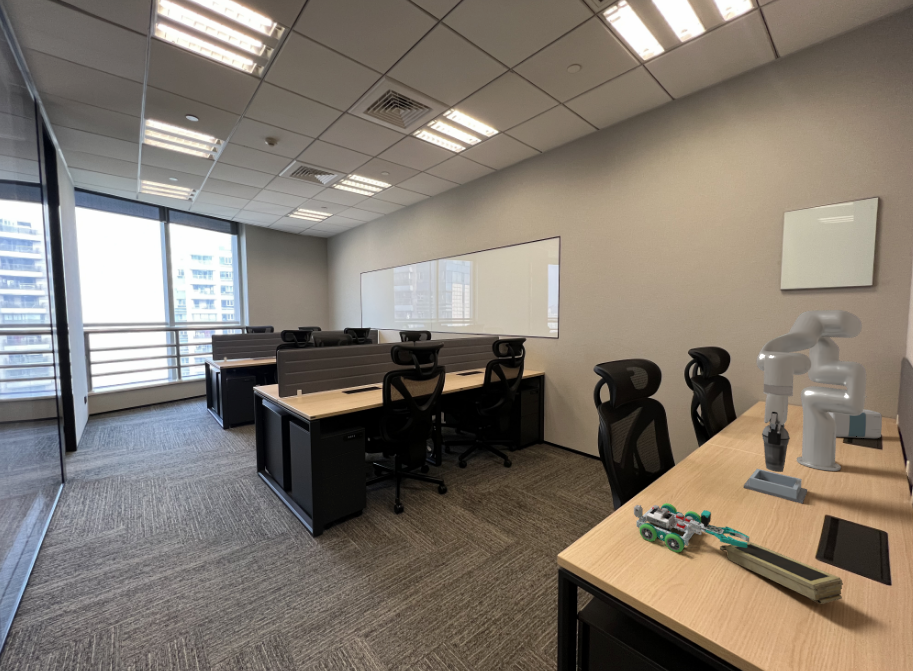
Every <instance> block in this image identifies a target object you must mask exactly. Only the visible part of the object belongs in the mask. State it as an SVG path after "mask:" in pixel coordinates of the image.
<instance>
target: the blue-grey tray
mask: <svg viewBox="0 0 913 671" xmlns="http://www.w3.org/2000/svg"><path fill="white" fill-rule="evenodd" d="M743 488H744V489H747V490H751V491H754V492H757V493H762V494H765V495H769V496H772V497H776V498H779V499H783V500H787V501H791V502H795V503H799V504H802V505H803V504H804V501H805V499H806V496H807V494H808V489H807V488H804V487H802V478H799V477H795V476H791V475H790V476H789V475H786V474H781V473H779V472H774V471H770V470H769V471H768V470H765V469H760V468H756V469H755V471H754V472H753V473H752V474H751V475H750V477H748V479H747V481H746V482H745V483H744V484H743Z"/></svg>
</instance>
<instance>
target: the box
mask: <svg viewBox="0 0 913 671" xmlns="http://www.w3.org/2000/svg"><path fill="white" fill-rule="evenodd" d="M745 542H746V543H747V548H744V547H738V546H734V545H731V544H723V545H720V546H719V550H720V551H725V552H726V553H727V560H729V561H730V562H733V563H736V564H737V565H739V566H741V567H743V568H745V569H748V570H750V571H752V572H754V573H756V574H758V575H761V576H763V577H765V578H766V579H770V581H773V582H775V583H778V584H780V585H782V586H783V587H786V588H787V589H790V590H792V591H794V592H796V593H798V594H800V595H803V596H805V597H807V598H808V599H810V600H811V601H813V602H815V603H817V604H819V605H824V604H827V603H831V602H834V601H838V600H842V599H843V596H842V589H843V585H844V583H843V580H842V579H841V577H839V576H837V575H834V574H831V573H829V572H827V571H823V570H821V569H818V568H817V567H814V566H812V565H809V564H807V563H804V562H802V561H799V560H797V559H794V558H792V557H789V556H786V555H784V554H782V553H779V552H777V551H775V550H773V549H770V548H767V547H764V546H762V545H760V544H757V543H754V542H751V541H749V542H747V541H745Z"/></svg>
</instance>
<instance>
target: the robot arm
mask: <svg viewBox="0 0 913 671" xmlns="http://www.w3.org/2000/svg"><path fill="white" fill-rule="evenodd" d="M862 328H863V323H862V320H861V318H859V317H858V316H857V315H855V314H854V313H852V312H850V311H847V310H843V309H830V310H829V309H828V310H827V309H826V310H825V309H823V310H820V309H818V310H807V311H804V312H802V313H800V314H799V315H798V316H797V318H796V319H795V321H794V322H793V324H792V325H791V327H790V329H789V331H788V332H787V333H784V334H782V335H779V336H776V337H775V338H772V339H770V340H768V341H767V342H766V343H765V344H764V345H763V346H762V348H761V349H760V351H759V353H758V355H757V356H756V363H755V364H756V366H757V369H759V370H760V371H762V372H763V392H762V393H763V394H764V395H766V398H765V405H764V406H765V408H764V419H763V421H764V424H768V423H769V424H768V425H769V431H768V443H769V444H774V445H781V433H780V427H781V426H782V427H784V428H786V427H785V426H786V425H785V423H787V420H788V412H789V398H791V397H793V396H794V376H795V375H796V376H797V375H798V376H801V375H805V374H807V377H808V379H809V380H810V381H811V382H813V383H818V384H823V385H833V386H843V387H846V389H845V388H843V389H842V388H834V387H827V386H818V385H817V386H816V385H813V386H807V387H804V388H803V389H802V390H801V391H800V401H801V406H802V441H801V442H802V444H801V446H802V447H801V456H797V458H796V462H797V463H798V464H800V465H802V466H805V467H808V468H812V469H815V470H820V471H828V472H830V471H831V472H837V471H840V470H841V468H842V467H841V465H840V464H838V463H837V462H836V451H837V450H836V448H837V446H836V444H837V437H836V422H835V420H834V419H833V418H832V416H831V415H830V414H829V413H828V412H830V413H831V412H832V413H839V414H845V415H853V416H856V415H860V414H861V413H862V412H863V410H864V409H865V403H866V387H867V386H866V385H867V371H866V368H865V366H864V365H863V364H862V363H860V362H857V361H849V360H847V361H845V360H840V346H839V345H838V344H837V343H836V342H835V340H833V338H840V339H842V338H844V339H845V338H846V339H847V338H848V339H849V338H851V339H852V338H856V337H858V336H859V335H860V333H861V332H862ZM805 350H809V353H808V356H807V355H806V354H805V353H804V354H803V353H801V351H805ZM799 352H800V353H799ZM777 416H778V418H777ZM776 422H777V423H778V424H777V423H776ZM777 426H778V427H777Z"/></svg>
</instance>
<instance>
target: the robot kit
mask: <svg viewBox="0 0 913 671" xmlns="http://www.w3.org/2000/svg"><path fill="white" fill-rule="evenodd" d="M643 510H644V508H643V507H642V505H641V504H640V505H639V504H636V505H635V506H634V507H633V515H634V516H635V517H636V518H637V520H636V524H635V525H636V528H639V534H640V536H641V538H643V539H644V540H645V541H646V542H647V541H648V542H655V541H656V540H657V538H658V539H659V541H662V542H664V543H665V546H666V548H668V549H669V550H670V551H672V552H674V553H681V552H682V551H683V550H684V548H685V546H686V547H687V546H689V540H690V539H691V538H692V536H693V535H694V534H696V535H700V536H701V535H702V532H703V533H706V534H708V535H711V536H714V537H715V538H717V539H718V540H719V542H721V543H722V544H723V543H724V544H726V545H734V546H738V547H744V548H747V543H746V542H750V536H749V535H746V534H744V533H743V532H740V531H738V530H737V529H734V528H732V527H729V526H727V525H726V526H725V527H723V526H722V527H721V526H716V525H712V524H710V523H711V519H712V518H711V517H712V512H711V511H709V510H705V509H704V510H703V511H701V513H700V514H699V513H697V512H696V511H692V510H690V511H686V513H685V514H684V513H682V512H680V511H678V510H677V509H676V507H675V506H674V505H673V504H671V503H668V502H667V503H663V504H662V505H661V507H660V506H659V505H657V504H655V505H653V506H651V507H650V509H648V510H647V511H646V512H645V513H644V512H643ZM651 523H652V524H651ZM653 524H654V525H653ZM655 525H657V526H658V527H657V526H655ZM673 528H674V529H676V530H677V531H678V532H679V531H680V532H684V534H683V536H682V535H680V534H678V533H676V532H672V531H671V530H672V529H673ZM725 534H727V535H725ZM733 537H735V538H738V539H735V538H733ZM739 539H741V540H739ZM742 540H743V541H742Z"/></svg>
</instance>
